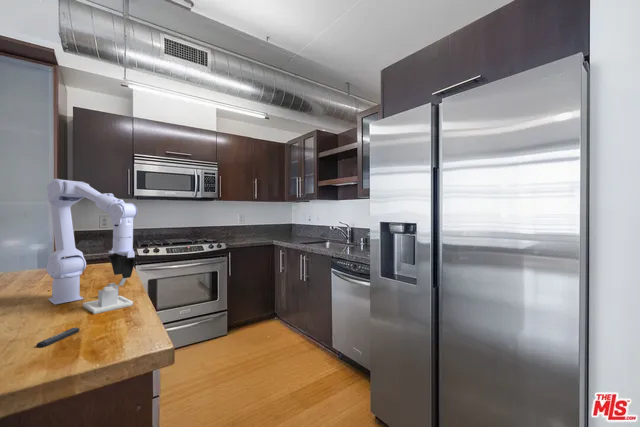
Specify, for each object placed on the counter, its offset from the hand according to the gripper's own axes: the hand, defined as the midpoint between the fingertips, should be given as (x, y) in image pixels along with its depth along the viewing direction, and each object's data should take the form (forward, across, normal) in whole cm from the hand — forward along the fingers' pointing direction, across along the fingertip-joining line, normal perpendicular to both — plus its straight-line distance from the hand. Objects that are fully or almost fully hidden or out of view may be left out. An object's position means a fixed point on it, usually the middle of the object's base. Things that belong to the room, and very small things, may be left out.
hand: (122, 276), depth 97 cm
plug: (+10, -3, -3) cm, 11 cm away
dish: (+10, -3, -3) cm, 11 cm away
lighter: (+11, -14, +3) cm, 18 cm away
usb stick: (+11, +16, -20) cm, 28 cm away
